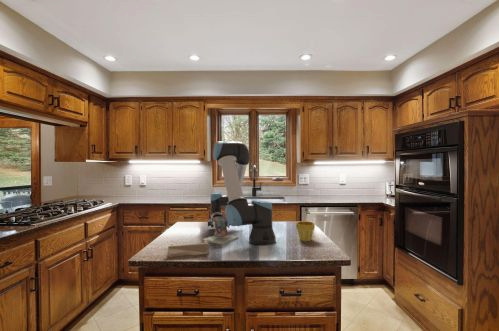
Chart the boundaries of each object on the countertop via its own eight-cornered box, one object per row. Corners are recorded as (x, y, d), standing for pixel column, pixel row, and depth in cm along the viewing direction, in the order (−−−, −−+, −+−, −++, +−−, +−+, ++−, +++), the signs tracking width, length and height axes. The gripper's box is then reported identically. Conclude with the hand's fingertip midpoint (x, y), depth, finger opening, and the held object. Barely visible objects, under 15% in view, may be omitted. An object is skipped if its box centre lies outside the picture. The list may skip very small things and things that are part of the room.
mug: (229, 237, 157) (229, 219, 157) (213, 238, 156) (212, 219, 155) (228, 232, 169) (228, 215, 169) (213, 233, 167) (212, 215, 167)
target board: (238, 238, 164) (238, 236, 164) (223, 244, 152) (223, 242, 152) (219, 235, 172) (219, 233, 172) (202, 240, 160) (202, 239, 160)
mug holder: (170, 246, 151) (170, 236, 151) (206, 243, 155) (206, 234, 155) (168, 256, 133) (168, 246, 133) (208, 253, 137) (208, 243, 137)
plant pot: (313, 243, 153) (313, 225, 152) (295, 241, 156) (294, 224, 156) (315, 238, 162) (315, 221, 162) (297, 236, 166) (297, 220, 166)
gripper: (233, 223, 182) (239, 231, 159) (202, 225, 177) (203, 234, 155) (232, 212, 182) (239, 218, 159) (201, 213, 177) (203, 220, 155)
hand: (221, 226), depth 157 cm, fingers closed on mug, 7 cm apart
